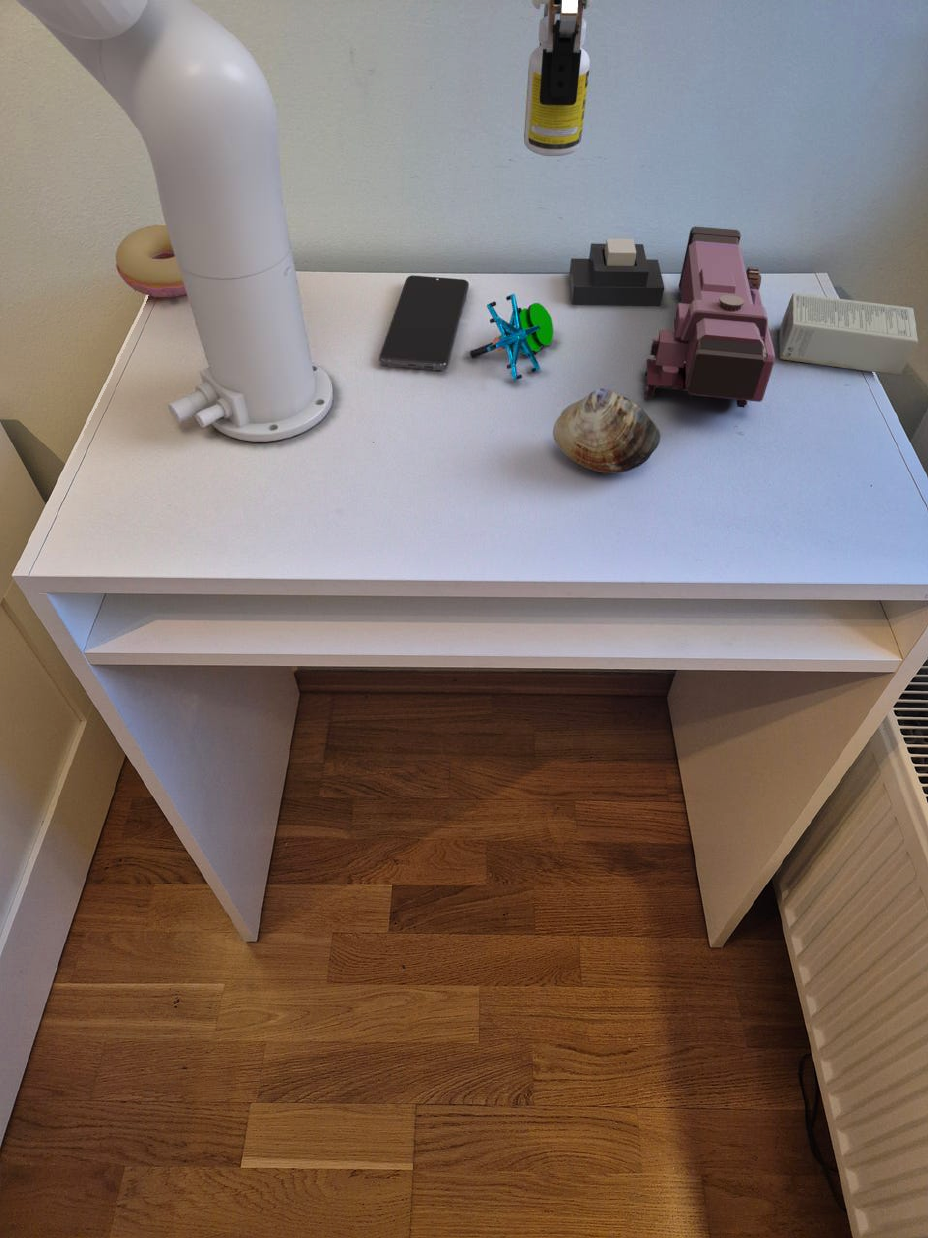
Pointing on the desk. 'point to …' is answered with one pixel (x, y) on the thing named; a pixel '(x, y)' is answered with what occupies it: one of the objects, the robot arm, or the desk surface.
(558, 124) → the supplement bottle
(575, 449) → the seashell
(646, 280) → the dark gray block frame
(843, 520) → the desk surface
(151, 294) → the doughnut
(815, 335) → the cosmetic box
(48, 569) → the desk surface
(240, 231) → the robot arm
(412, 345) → the smartphone
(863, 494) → the desk surface
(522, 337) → the stick construction toy
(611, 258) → the key back
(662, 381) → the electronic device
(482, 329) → the desk surface
